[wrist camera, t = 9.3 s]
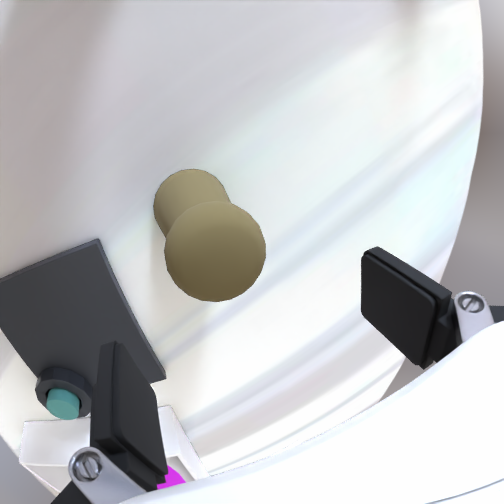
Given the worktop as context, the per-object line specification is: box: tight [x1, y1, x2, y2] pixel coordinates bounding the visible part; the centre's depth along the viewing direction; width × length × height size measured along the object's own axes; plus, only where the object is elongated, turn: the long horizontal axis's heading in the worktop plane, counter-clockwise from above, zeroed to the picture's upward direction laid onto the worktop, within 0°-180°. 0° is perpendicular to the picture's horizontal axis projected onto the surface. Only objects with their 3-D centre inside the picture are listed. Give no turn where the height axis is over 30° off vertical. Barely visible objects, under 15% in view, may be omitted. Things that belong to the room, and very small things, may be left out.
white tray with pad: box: [19, 405, 210, 493], centre depth 33 cm, size 22×35×7 cm, turn 5°
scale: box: [0, 239, 166, 418], centre depth 23 cm, size 17×15×3 cm
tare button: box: [46, 387, 80, 420], centre depth 22 cm, size 4×4×2 cm
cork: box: [153, 169, 266, 302], centre depth 18 cm, size 6×6×11 cm
